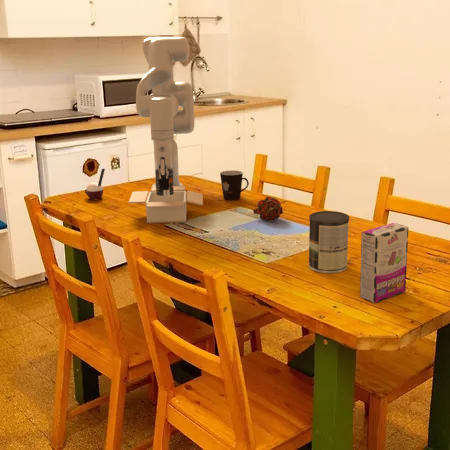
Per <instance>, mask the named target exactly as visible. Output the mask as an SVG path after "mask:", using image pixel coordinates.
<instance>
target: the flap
mask: <svg viewBox="0 0 450 450" xmlns="http://www.w3.org/2000/svg"><path fill="white" fill-rule="evenodd" d="M203 198H204V197H203V193H200V192H196V191H193V190H192V191H191V190H186V202H187V203H189V204H194V205H198V206H202V207H203V205H204V199H203Z"/></svg>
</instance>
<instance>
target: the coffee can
mask: <svg viewBox="0 0 450 450" xmlns="http://www.w3.org/2000/svg"><path fill="white" fill-rule="evenodd" d="M308 217H309V232H308V233H309V234H308V235H309V236H308V238H309V242H308V243H309V245H308V249H309V250H308V268H309V269H310V270H311V271H313V272H316V273H320V274H337V273H338V274H339V273H342V272H344V271H346V270H347V269H348V250H349V246H348V245H349V224H350V223H349V221H350V215H349V214H347V213H346V212H345V213H344V212H342V211H336V210H335V211H334V210H333V211H332V210H321V211H316V212H311V214H309V216H308Z"/></svg>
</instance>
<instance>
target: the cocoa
mask: <svg viewBox="0 0 450 450" xmlns="http://www.w3.org/2000/svg"><path fill="white" fill-rule="evenodd" d="M105 169H106V168H102V169H101V171H100V175H99V180H98V182H94V181H93V182H91V183H89V184H87V186H86V189H85V190H84V193H85V195H87V197H88V199H90V200H91V199H98V200H100V199H102V197H103V195H104V187H103V186H102V183H103V178H104V174H105ZM99 198H100V199H99Z"/></svg>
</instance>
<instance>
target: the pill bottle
mask: <svg viewBox="0 0 450 450" xmlns="http://www.w3.org/2000/svg"><path fill="white" fill-rule="evenodd" d="M165 169H166V168H165ZM165 172H166V171H165ZM154 175H155V177H156V180H155V184H156V194H157V195H158V196H171V195H173V194H174V190H173V170H172V169H171V170H170V169H168V178H169V190H160V189H159V170H158V169H156V170H155V169H154Z"/></svg>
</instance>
